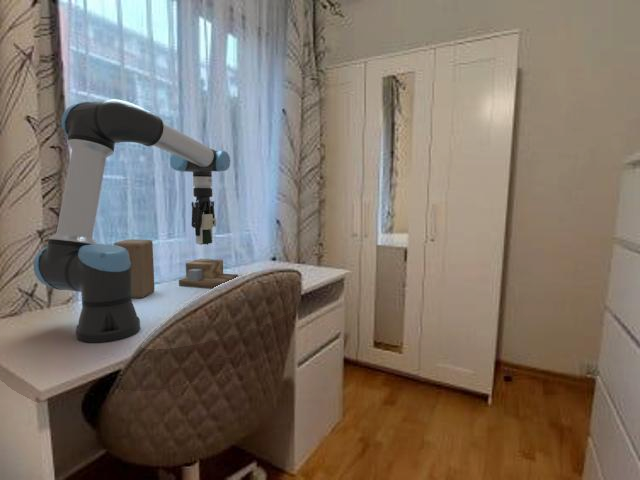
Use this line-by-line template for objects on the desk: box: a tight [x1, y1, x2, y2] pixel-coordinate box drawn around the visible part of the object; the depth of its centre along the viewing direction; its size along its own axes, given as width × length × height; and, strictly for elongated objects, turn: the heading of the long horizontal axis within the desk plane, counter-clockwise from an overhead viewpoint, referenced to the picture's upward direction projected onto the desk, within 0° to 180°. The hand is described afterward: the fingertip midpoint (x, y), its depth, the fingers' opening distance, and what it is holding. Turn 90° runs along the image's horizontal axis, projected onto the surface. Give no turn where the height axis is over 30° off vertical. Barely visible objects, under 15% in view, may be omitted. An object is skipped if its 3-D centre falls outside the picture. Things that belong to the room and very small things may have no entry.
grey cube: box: [188, 269, 203, 281], centre depth 155 cm, size 4×4×4 cm
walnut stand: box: [178, 258, 239, 290], centre depth 160 cm, size 16×18×8 cm
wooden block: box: [113, 238, 155, 299], centre depth 140 cm, size 10×10×20 cm
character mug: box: [200, 213, 217, 246], centre depth 161 cm, size 11×7×13 cm, turn 81°
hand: (204, 242), depth 162 cm, fingers closed on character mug, 7 cm apart
